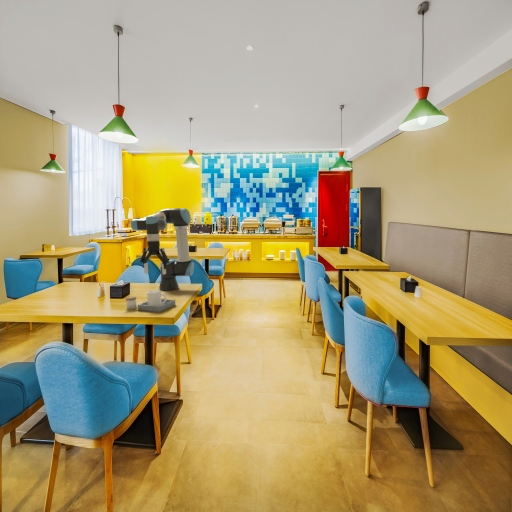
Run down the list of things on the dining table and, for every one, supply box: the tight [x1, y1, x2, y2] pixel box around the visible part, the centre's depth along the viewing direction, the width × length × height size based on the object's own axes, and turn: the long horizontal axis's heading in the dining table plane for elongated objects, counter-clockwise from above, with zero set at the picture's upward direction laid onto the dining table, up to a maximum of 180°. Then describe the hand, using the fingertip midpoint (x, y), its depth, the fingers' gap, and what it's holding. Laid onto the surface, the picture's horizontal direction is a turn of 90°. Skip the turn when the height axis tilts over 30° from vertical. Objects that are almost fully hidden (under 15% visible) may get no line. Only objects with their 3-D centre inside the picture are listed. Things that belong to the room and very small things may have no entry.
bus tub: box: [137, 298, 176, 313], centre depth 207 cm, size 17×17×4 cm
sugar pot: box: [125, 295, 138, 310], centre depth 207 cm, size 7×7×7 cm
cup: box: [146, 289, 167, 306], centre depth 207 cm, size 8×12×10 cm
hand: (155, 273), depth 205 cm, fingers open, 13 cm apart
